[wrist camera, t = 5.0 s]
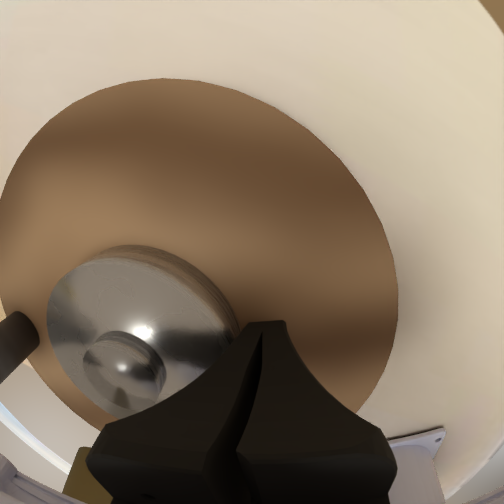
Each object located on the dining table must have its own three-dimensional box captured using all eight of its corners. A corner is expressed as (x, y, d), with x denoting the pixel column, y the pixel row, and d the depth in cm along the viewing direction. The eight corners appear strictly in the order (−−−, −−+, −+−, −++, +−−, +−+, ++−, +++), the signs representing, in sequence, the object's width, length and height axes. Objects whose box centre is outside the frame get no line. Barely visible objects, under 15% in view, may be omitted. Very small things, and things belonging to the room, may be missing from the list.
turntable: (368, 442, 15) (380, 515, 10) (84, 430, 18) (54, 479, 13) (371, 55, 9) (429, -3, 4) (-17, 157, 12) (-88, 173, 7)
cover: (253, 405, 13) (246, 456, 10) (105, 394, 14) (81, 432, 11) (226, 234, 10) (205, 267, 8) (51, 253, 11) (6, 279, 9)
